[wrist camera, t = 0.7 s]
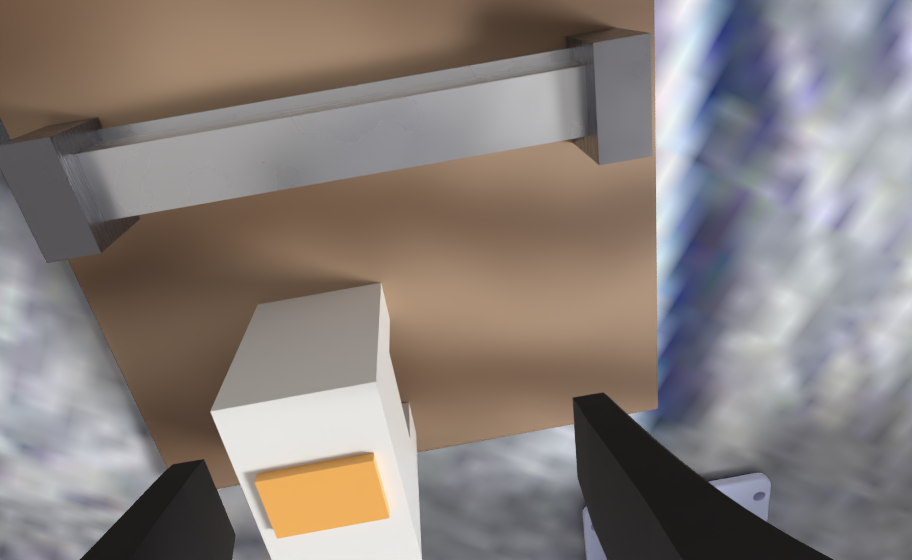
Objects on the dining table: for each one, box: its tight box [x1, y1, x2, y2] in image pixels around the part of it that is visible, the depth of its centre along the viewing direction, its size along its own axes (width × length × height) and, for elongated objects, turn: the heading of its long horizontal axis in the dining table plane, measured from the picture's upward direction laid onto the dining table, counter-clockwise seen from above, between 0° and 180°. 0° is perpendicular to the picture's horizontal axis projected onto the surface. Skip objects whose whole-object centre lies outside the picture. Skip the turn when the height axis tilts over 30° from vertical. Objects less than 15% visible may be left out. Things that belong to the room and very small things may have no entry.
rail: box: [0, 27, 652, 263], centre depth 16 cm, size 3×16×3 cm, turn 98°
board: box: [0, 0, 658, 489], centre depth 19 cm, size 18×18×1 cm
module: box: [210, 283, 422, 560], centre depth 18 cm, size 6×4×6 cm, turn 8°
